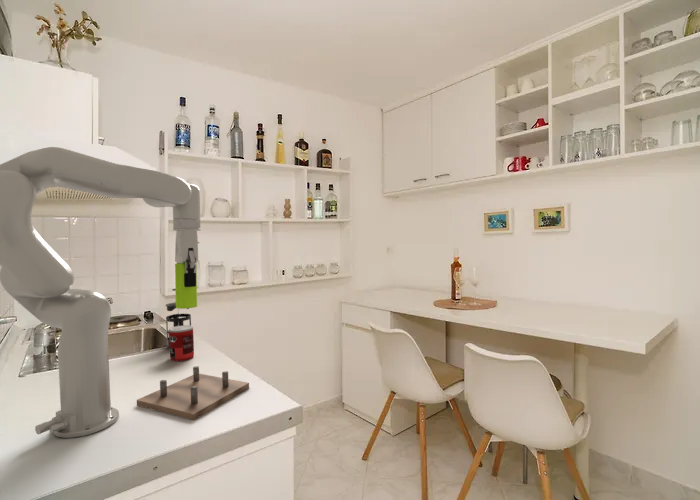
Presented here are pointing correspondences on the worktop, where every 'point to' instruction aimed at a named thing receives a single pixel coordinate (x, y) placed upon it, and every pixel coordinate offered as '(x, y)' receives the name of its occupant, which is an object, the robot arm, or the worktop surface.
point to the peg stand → (193, 395)
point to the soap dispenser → (184, 289)
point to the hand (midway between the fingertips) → (187, 285)
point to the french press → (175, 318)
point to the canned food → (181, 343)
